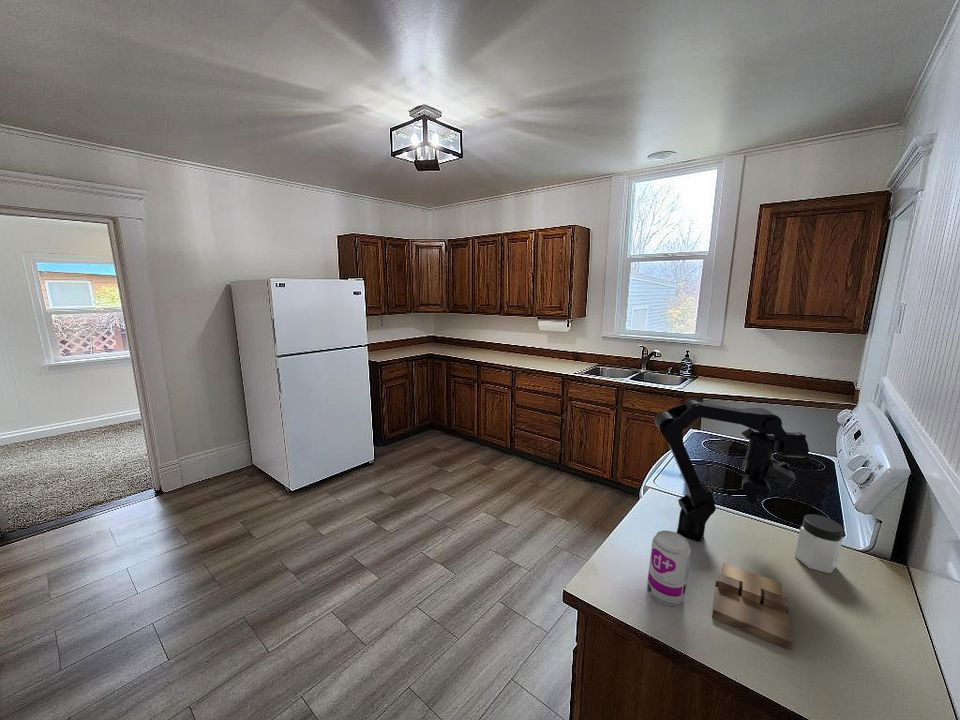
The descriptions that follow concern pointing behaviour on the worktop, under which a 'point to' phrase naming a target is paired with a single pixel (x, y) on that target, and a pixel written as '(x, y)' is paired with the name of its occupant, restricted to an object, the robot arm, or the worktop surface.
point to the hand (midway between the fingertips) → (751, 503)
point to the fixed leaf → (752, 612)
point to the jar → (819, 543)
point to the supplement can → (668, 568)
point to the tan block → (752, 583)
